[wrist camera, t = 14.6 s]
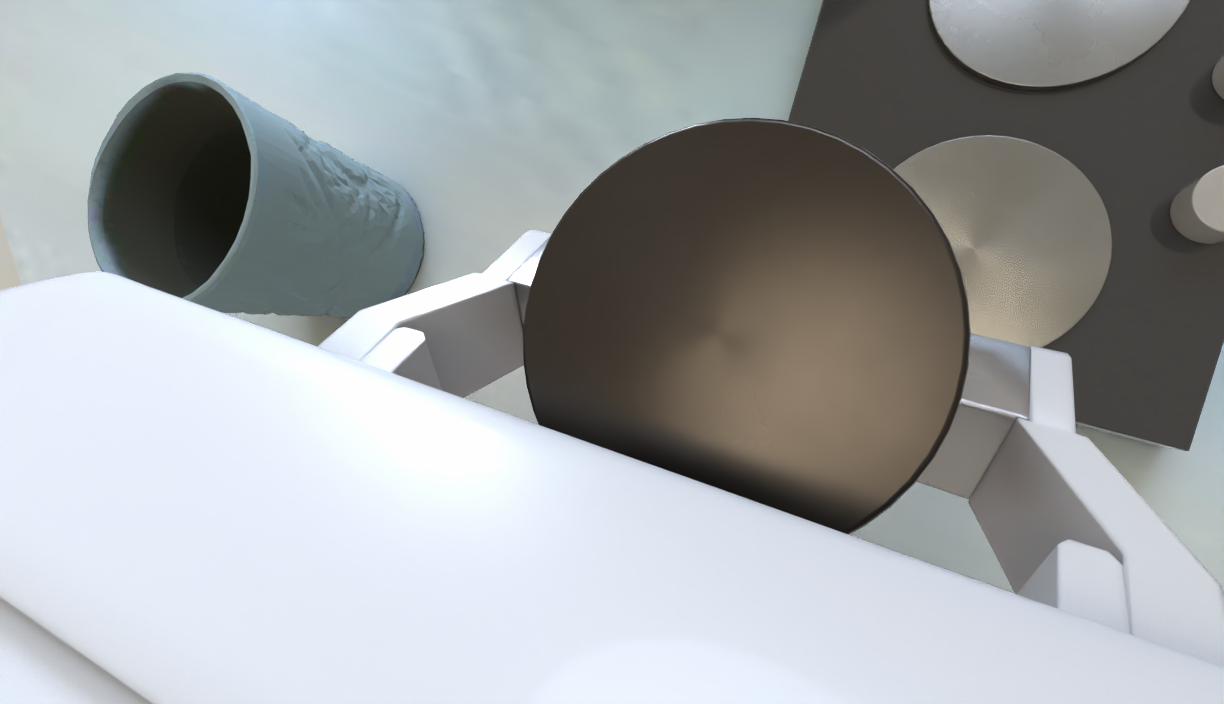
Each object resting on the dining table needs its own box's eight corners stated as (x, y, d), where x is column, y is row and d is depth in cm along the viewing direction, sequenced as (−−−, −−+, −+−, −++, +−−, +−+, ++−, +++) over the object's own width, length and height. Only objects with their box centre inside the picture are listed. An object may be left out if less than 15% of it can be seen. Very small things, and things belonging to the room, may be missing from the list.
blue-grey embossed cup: (435, 155, 37) (255, 47, 25) (437, 329, 36) (252, 298, 25) (299, 181, 40) (87, 97, 29) (297, 341, 39) (78, 318, 28)
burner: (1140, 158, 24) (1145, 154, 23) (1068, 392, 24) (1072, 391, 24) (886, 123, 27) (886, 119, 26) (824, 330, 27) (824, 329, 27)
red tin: (937, 278, 15) (1036, 153, 7) (865, 518, 15) (890, 639, 7) (699, 228, 17) (582, 89, 9) (638, 440, 17) (475, 473, 9)
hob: (1341, -117, 24) (1424, -204, 20) (1162, 447, 24) (1214, 455, 21) (867, -124, 30) (871, -191, 26) (734, 332, 30) (720, 324, 27)
